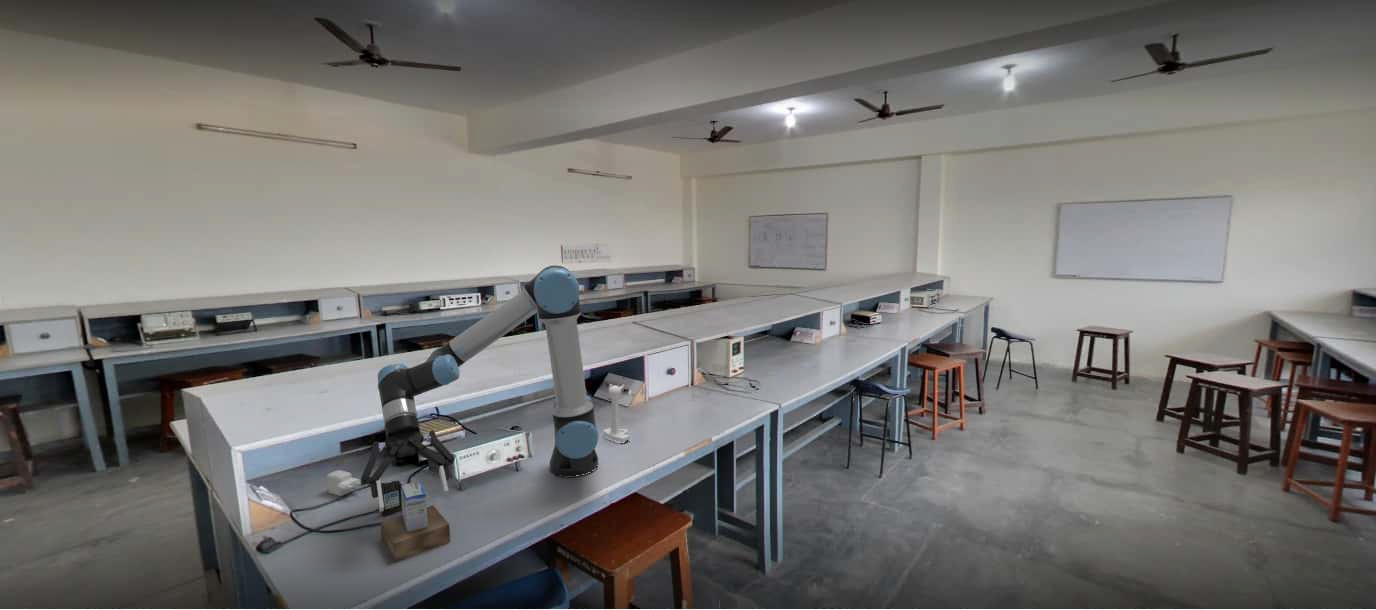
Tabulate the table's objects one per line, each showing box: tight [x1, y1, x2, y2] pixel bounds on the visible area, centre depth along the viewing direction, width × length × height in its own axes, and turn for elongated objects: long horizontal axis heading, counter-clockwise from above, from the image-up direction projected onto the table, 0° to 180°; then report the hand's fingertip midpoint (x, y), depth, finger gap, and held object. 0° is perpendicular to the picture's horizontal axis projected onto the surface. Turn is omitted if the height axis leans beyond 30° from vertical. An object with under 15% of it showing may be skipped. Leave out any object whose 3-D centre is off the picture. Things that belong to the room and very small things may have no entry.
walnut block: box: [379, 504, 451, 563], centre depth 128 cm, size 12×12×5 cm
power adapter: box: [326, 469, 365, 497], centre depth 150 cm, size 11×5×6 cm, turn 69°
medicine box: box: [401, 481, 428, 532], centre depth 127 cm, size 8×4×9 cm, turn 36°
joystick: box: [602, 385, 631, 442], centre depth 191 cm, size 11×8×20 cm
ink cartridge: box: [380, 479, 402, 517], centre depth 140 cm, size 5×2×8 cm, turn 131°
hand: (415, 501), depth 125 cm, fingers open, 13 cm apart
